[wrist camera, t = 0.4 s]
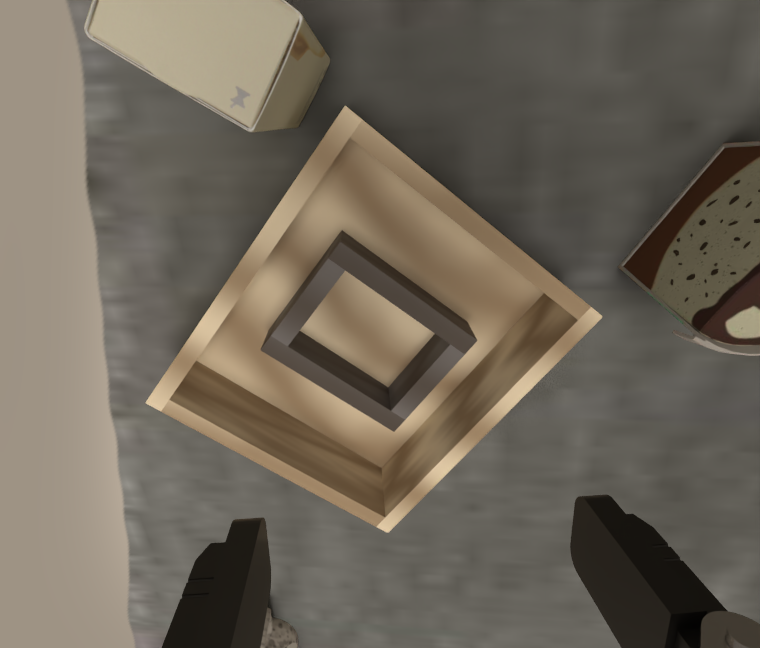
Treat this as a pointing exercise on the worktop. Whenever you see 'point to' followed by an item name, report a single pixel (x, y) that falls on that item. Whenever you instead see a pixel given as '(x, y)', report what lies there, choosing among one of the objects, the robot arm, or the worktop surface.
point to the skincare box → (220, 54)
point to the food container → (709, 253)
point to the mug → (278, 633)
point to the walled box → (370, 332)
